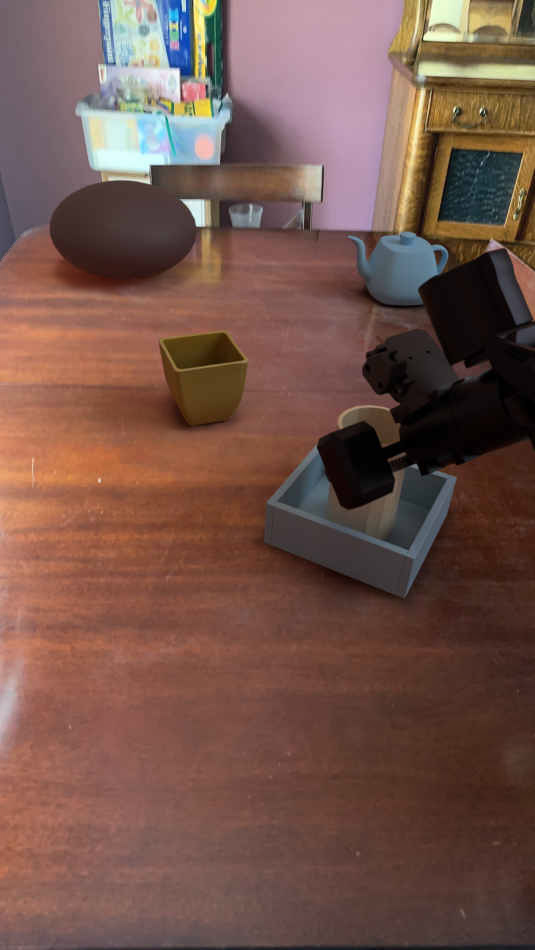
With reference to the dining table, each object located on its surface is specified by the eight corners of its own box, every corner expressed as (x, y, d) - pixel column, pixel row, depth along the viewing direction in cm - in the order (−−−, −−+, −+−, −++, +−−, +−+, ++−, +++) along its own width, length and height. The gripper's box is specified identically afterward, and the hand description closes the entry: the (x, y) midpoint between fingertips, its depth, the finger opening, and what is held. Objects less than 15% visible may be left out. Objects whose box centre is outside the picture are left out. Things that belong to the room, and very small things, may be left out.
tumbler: (401, 543, 67) (424, 443, 59) (335, 550, 65) (350, 449, 58) (379, 499, 72) (397, 403, 64) (317, 505, 71) (329, 407, 63)
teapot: (340, 221, 115) (441, 221, 118) (334, 281, 122) (430, 281, 124) (357, 246, 105) (467, 246, 108) (349, 310, 112) (453, 309, 114)
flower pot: (161, 401, 87) (157, 337, 81) (225, 391, 89) (226, 328, 84) (178, 438, 80) (175, 371, 75) (247, 426, 83) (249, 361, 77)
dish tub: (446, 515, 71) (457, 476, 68) (404, 599, 61) (414, 558, 58) (320, 471, 76) (325, 434, 73) (263, 542, 67) (266, 502, 64)
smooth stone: (46, 255, 126) (32, 169, 117) (175, 243, 134) (172, 162, 125) (69, 306, 108) (55, 211, 99) (216, 289, 117) (216, 199, 108)
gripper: (520, 292, 55) (403, 359, 69) (345, 343, 46) (251, 408, 60) (572, 418, 55) (445, 460, 69) (407, 494, 46) (298, 525, 60)
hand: (364, 460), depth 64 cm, fingers open, 9 cm apart
